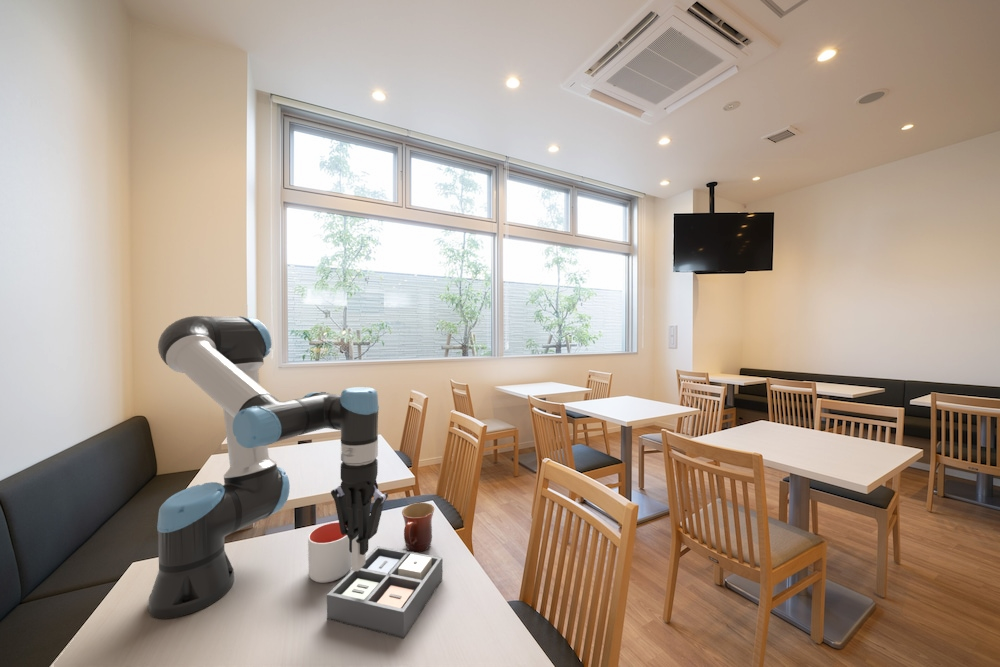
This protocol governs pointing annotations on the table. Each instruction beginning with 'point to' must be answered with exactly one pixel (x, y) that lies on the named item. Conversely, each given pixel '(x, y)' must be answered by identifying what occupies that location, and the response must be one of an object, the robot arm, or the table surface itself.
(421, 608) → the grey compartment tray
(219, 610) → the table surface
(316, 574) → the cup
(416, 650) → the table surface
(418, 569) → the cream key
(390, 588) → the terracotta key
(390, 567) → the slate key
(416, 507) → the mug
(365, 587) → the sage key
